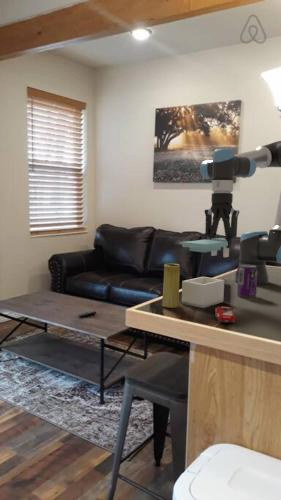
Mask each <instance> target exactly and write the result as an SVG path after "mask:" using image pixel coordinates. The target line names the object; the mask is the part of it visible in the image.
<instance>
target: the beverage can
mask: <svg viewBox="0 0 281 500" xmlns="http://www.w3.org/2000/svg"><path fill="white" fill-rule="evenodd" d="M257 272H258V271H257V268H256V266H255V265H246V264H244V265H240V268H239V270H238V282H237V288H236V289H237V293H236V294H237V296H239V297H241V298H245V299H252V298H254V297H256V296H257V289H258V288H257V287H258V286H257Z"/></svg>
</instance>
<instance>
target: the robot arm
mask: <svg viewBox="0 0 281 500" xmlns="http://www.w3.org/2000/svg"><path fill="white" fill-rule="evenodd" d="M257 168H259V169H266V168H281V140H277V141H275V142H271V143H268V144H265V145H262V146H258V147H257V148H255V149H253V150H250V151H245V152H241V153H235V150H234V149H232V148H216V149H215V150H214V151H213V153H212V158H211V159H206V160H203V161H202V162H201V163H200V167H199V169H200V171H199V172H200V175H201V176H202V177H203V178H204V179H209V180H210V179H211V183H212V184H211V191H212V194H211V206H210V208H208V209H204V210H203V211H204V214H205V228H204V229H205V236H206V237H209V240H211V239H215V238H217V232H218V228H219V223H220V222H221V221H222V222H223V229H224V235H225V237H224V238H225V239H224V241H227V242H228V246H225V247H222V248H223V249H222V255H223V258H228V257H230V256H229V255H230V249H231V248H232V241H233V239H235V238H237V235H238V217H239V214H240V210H236V209H234V208H233V205H232V204H233V200H234V199H233V197H234V196H233V195H234V194H233V193H232V192H234V178H242V179H246V178H250V177H253V176H254V174H255V173H256V171H257ZM273 224H274V225H273V227H271V228H270V229H269V231H267V230H263V231H262V230H260V231H259V230H258V231H247V232H246V231H245V232H242V234H241V235H240V241H239V264H238V267H237V270H236V272H235V275H234V282H236V283H238V270H239V268H240V265H244V264H246V265H255V266H256V268H257V271H258V272H257V285H258V286H259V285H260V286H261V285H268V284H270V283H269V282H270V277H269V273H268V270H267V262H270V263H277V264H281V192H280V194H279V200H278V204H277V209H276V216H275V220H274V223H273ZM217 255H218V250H217V251H210V256H211V257H213V256H214V257H215V256H217Z"/></svg>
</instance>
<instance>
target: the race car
mask: <svg viewBox="0 0 281 500" xmlns="http://www.w3.org/2000/svg"><path fill="white" fill-rule="evenodd" d="M233 310H234V308H232V307H230V306H218V307H215V308H214V315H215V318H216V321H217V323H221V324H223V323H225V324H226V323H227V324H228V323H229V324H235V323H236V322H235V320H236V317H235V314H234V312H233Z"/></svg>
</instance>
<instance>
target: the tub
mask: <svg viewBox="0 0 281 500" xmlns="http://www.w3.org/2000/svg"><path fill="white" fill-rule="evenodd" d="M181 284H182V285H181V304H183V305H187V306H190V307H191V306H192V307H197V308H201V309H206V308H208V307H211V305H212V306H214V305H217V304H220V303H221V304H222V303H224V295H225V294H224V292H225V279H220V278H214V277H209V276H208V277H207V276H200V277H196V278H191V279H186V280H182V281H181Z"/></svg>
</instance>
